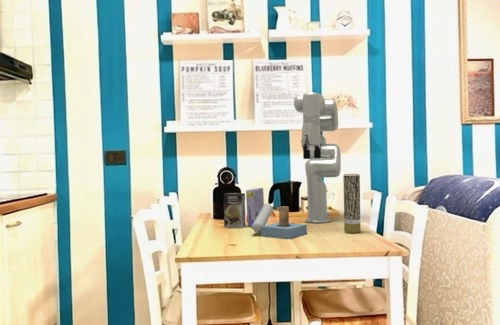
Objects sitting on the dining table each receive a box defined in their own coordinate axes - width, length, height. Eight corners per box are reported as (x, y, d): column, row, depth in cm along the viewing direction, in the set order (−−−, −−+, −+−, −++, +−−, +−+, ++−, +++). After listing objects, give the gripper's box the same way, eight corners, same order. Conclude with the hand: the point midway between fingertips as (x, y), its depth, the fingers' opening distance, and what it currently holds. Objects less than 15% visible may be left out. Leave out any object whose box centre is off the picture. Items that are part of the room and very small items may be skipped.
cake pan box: (256, 221, 237) (255, 187, 236) (265, 221, 235) (265, 187, 235) (246, 227, 218) (245, 190, 218) (256, 227, 217) (255, 190, 216)
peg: (282, 233, 198) (282, 206, 197) (290, 234, 195) (290, 206, 195) (277, 235, 194) (277, 206, 194) (285, 236, 192) (285, 207, 192)
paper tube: (347, 230, 202) (346, 173, 202) (362, 231, 199) (361, 173, 199) (342, 233, 197) (341, 174, 196) (357, 234, 193) (356, 174, 193)
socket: (279, 231, 204) (279, 222, 204) (306, 233, 196) (306, 224, 196) (261, 236, 193) (260, 226, 193) (289, 239, 185) (289, 229, 185)
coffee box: (223, 227, 217) (223, 193, 217) (227, 225, 224) (226, 192, 223) (242, 228, 215) (241, 193, 215) (245, 226, 221) (245, 192, 221)
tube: (265, 226, 192) (275, 207, 215) (253, 220, 192) (265, 201, 216) (259, 236, 193) (269, 216, 217) (248, 230, 194) (259, 210, 217)
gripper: (313, 121, 216) (314, 158, 216) (294, 120, 202) (295, 159, 202) (327, 120, 211) (328, 158, 212) (309, 119, 197) (310, 159, 198)
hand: (312, 158), depth 207 cm, fingers open, 9 cm apart
